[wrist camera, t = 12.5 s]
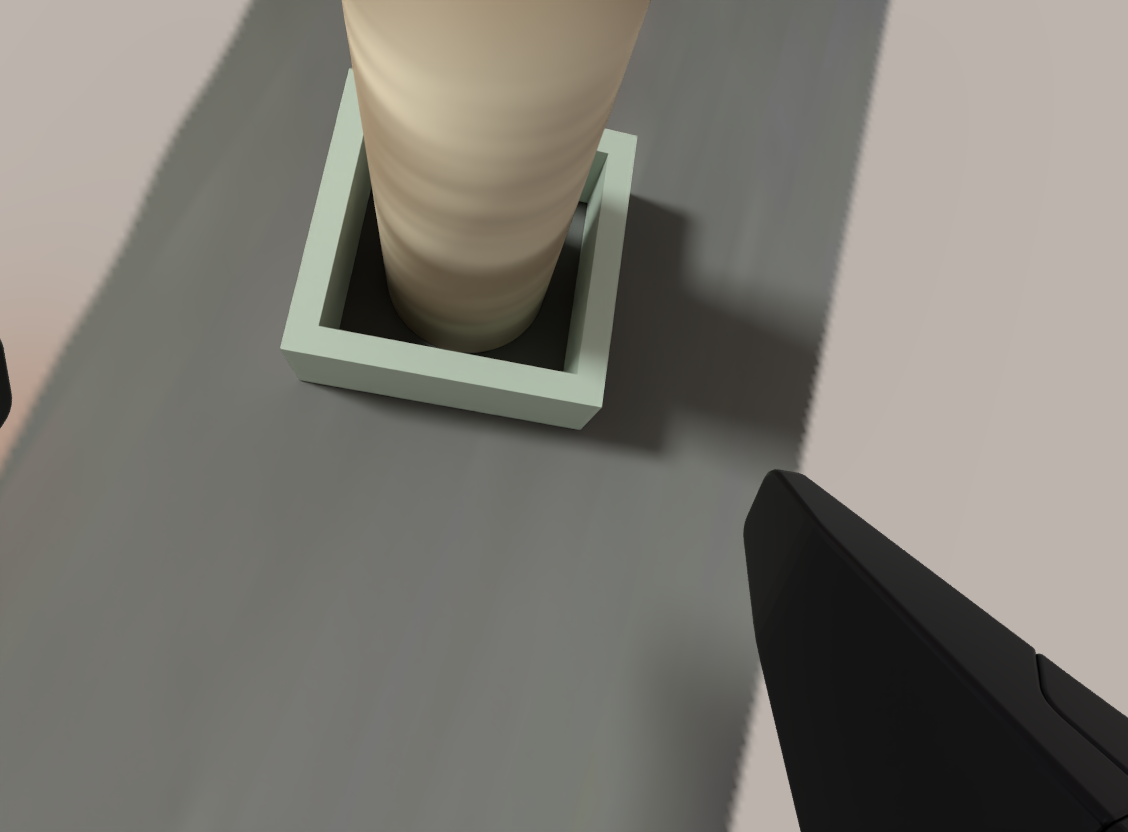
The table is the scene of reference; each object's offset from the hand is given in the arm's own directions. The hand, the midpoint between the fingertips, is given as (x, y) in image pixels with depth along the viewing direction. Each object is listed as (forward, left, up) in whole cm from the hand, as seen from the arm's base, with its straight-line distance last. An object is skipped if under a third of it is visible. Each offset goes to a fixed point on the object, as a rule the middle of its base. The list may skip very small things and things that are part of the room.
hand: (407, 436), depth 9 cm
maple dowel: (+7, -5, -14) cm, 16 cm away
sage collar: (+7, -5, -14) cm, 16 cm away
